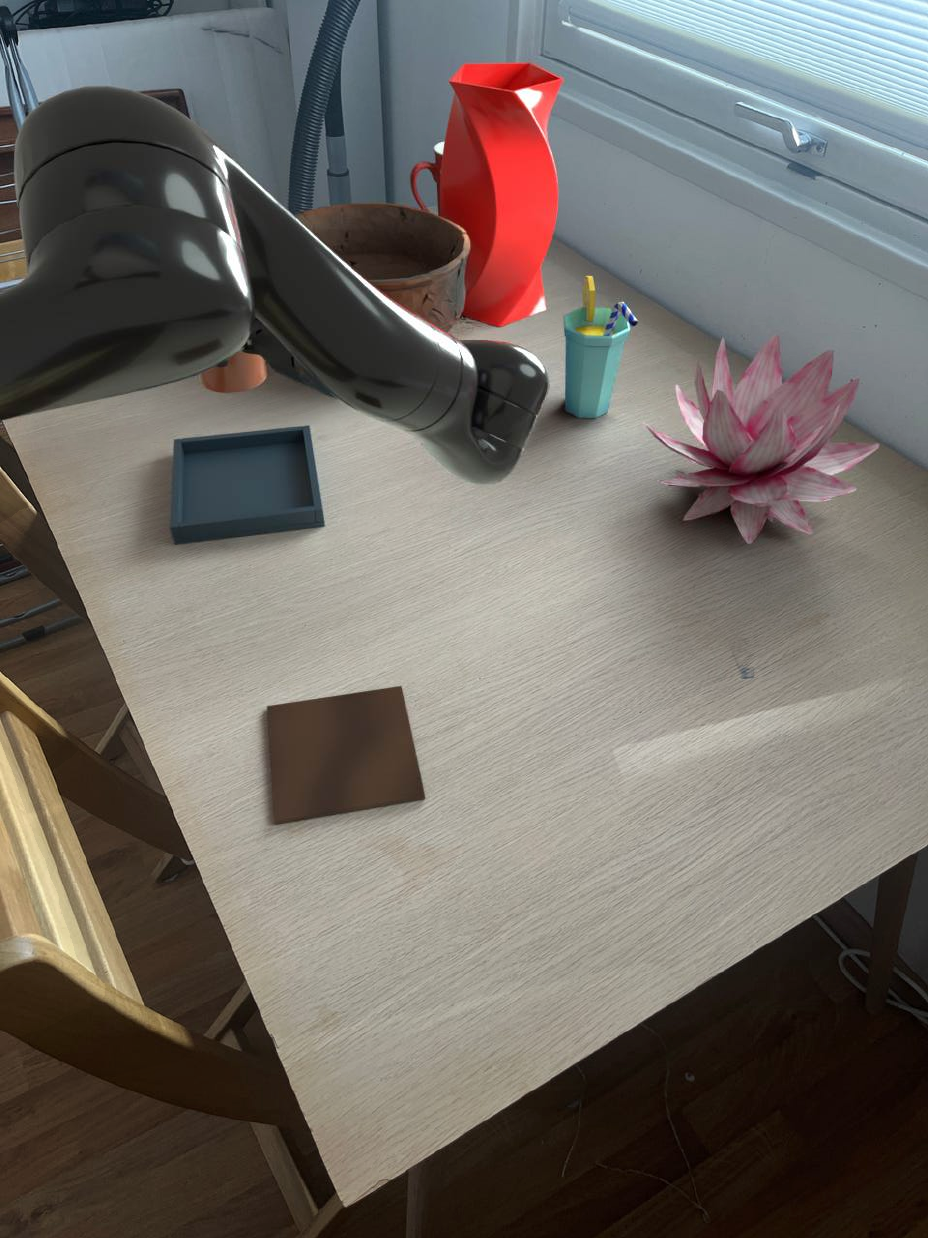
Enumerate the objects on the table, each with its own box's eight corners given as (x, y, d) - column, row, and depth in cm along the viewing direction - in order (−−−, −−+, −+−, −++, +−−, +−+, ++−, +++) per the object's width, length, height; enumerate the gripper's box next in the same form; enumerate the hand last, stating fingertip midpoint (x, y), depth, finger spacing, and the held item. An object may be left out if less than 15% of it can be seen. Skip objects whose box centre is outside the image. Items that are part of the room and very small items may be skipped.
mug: (484, 227, 144) (486, 136, 134) (496, 249, 137) (499, 155, 128) (408, 232, 142) (405, 140, 133) (416, 254, 136) (413, 160, 126)
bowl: (509, 346, 115) (515, 228, 104) (388, 429, 100) (381, 301, 90) (364, 296, 125) (356, 183, 114) (236, 364, 111) (213, 243, 100)
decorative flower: (776, 431, 101) (814, 304, 90) (891, 545, 86) (953, 411, 76) (604, 460, 96) (623, 330, 86) (695, 586, 82) (731, 449, 71)
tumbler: (198, 395, 82) (166, 255, 73) (200, 363, 87) (170, 227, 78) (267, 390, 83) (244, 250, 74) (266, 357, 88) (244, 222, 78)
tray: (174, 544, 85) (169, 527, 84) (177, 455, 96) (173, 438, 95) (324, 526, 88) (322, 509, 86) (311, 441, 99) (309, 424, 97)
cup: (647, 435, 100) (670, 308, 89) (585, 447, 98) (601, 320, 88) (593, 376, 109) (608, 256, 99) (535, 387, 107) (545, 265, 97)
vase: (555, 322, 120) (576, 89, 100) (452, 332, 117) (452, 95, 98) (524, 276, 130) (537, 57, 111) (429, 285, 128) (425, 62, 108)
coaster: (275, 825, 63) (274, 822, 63) (267, 709, 71) (266, 706, 71) (425, 799, 65) (425, 796, 65) (402, 688, 73) (401, 685, 72)
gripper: (387, 275, 75) (254, 228, 82) (260, 336, 67) (125, 277, 74) (391, 357, 80) (266, 305, 87) (274, 422, 72) (147, 360, 79)
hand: (202, 293), depth 81 cm, fingers closed on tumbler, 6 cm apart
